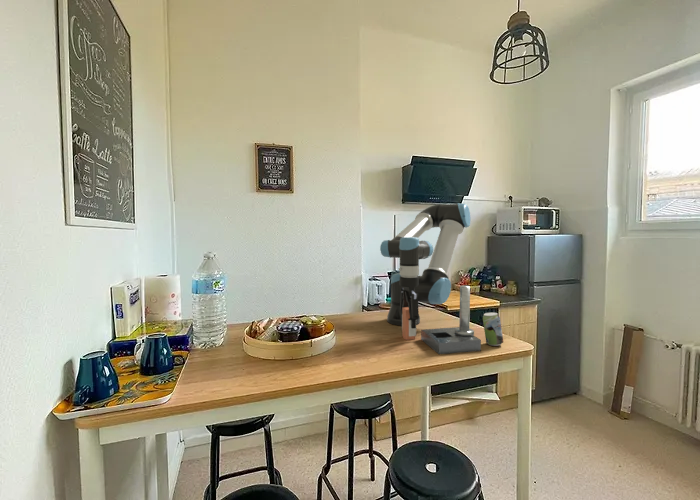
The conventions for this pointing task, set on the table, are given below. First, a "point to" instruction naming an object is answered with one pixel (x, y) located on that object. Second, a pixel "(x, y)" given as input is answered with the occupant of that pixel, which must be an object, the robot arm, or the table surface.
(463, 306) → the socket base with post
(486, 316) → the beverage can
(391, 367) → the table surface
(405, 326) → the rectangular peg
